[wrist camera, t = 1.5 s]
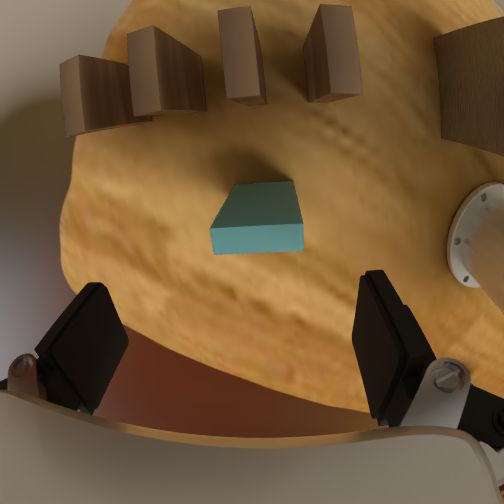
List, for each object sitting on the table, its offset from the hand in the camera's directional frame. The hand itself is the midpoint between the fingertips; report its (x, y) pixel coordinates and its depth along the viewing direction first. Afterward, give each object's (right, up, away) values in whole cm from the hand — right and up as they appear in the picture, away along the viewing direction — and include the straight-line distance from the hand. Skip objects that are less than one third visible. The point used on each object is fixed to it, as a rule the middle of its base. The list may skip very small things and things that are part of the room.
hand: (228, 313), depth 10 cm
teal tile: (+2, +7, +14) cm, 16 cm away
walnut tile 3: (+1, +16, +10) cm, 19 cm away
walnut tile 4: (+6, +16, +9) cm, 20 cm away
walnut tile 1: (-9, +16, +11) cm, 21 cm away
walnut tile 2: (-4, +16, +11) cm, 20 cm away
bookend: (+19, +17, +8) cm, 27 cm away
